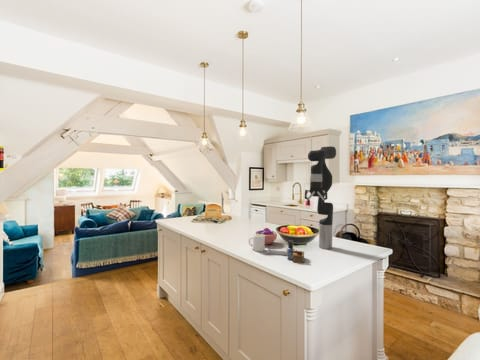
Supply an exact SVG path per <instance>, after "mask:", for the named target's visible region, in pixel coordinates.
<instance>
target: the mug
mask: <svg viewBox="0 0 480 360" xmlns="http://www.w3.org/2000/svg"><path fill="white" fill-rule="evenodd" d="M248 238H249V239H248V244H249V246H250V247H252V251H254V252H263V251H265V249H266V248H265V247H266V246H265V245H266V244H265V235H262V234H256V233H255V234H253V235H252V236H250V237H248ZM251 240H252V241H251Z"/></svg>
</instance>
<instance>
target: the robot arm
mask: <svg viewBox="0 0 480 360" xmlns="http://www.w3.org/2000/svg"><path fill="white" fill-rule="evenodd" d="M336 156H337V149H336V147H335V146H332V145H331V146H321V147H320V149H317V150H310V151H309V152H308V154H307V159H308V161H310V162H317V163H316V164H312V165H311V166H310V177H309V189H305V190H304V199H305V200H307V202H306V203H307V204H306V205H308V206H309V207H310V205H311V203H310V202H311V200H310V199H311V198H312V197H313V198H314V197H317V207H316V208H317V209H316V211H317V214H318V215H323V216H326V217H325V218H321V219H319V221H318V223H319V224H318V225H319V226H318V227H319V228H318V247H319V248H320V249H323V250H330V249H333V218H334V204H333V203H332V202H325V201H326V200H328V191H329V190H330V189H331V188H332V186H333V174H332V172H331V171H330V170H329V168H328V165H327V164H326V160H331V159H335V158H336ZM308 193H310V194H309V196H308ZM307 196H308V197H307Z"/></svg>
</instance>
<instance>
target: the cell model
mask: <svg viewBox="0 0 480 360" xmlns="http://www.w3.org/2000/svg"><path fill="white" fill-rule="evenodd" d="M255 234H262V235H265V245H271V244H273V243H274V242H275V241H276V240H277V237H278V233H277V232H276V231H274V230H271V229H270V228H269V227H265V228H263V230H257V231H255Z"/></svg>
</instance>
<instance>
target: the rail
mask: <svg viewBox="0 0 480 360" xmlns="http://www.w3.org/2000/svg"><path fill="white" fill-rule="evenodd" d="M267 250H268V251H267V254H268V255H276V256H277V255H278V256H287V257H288V253H287V250H285V251H284V250H274V249H271V247H268V249H267ZM295 251H298V250H297V249H296V250H295ZM292 254H293V253H292Z"/></svg>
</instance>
